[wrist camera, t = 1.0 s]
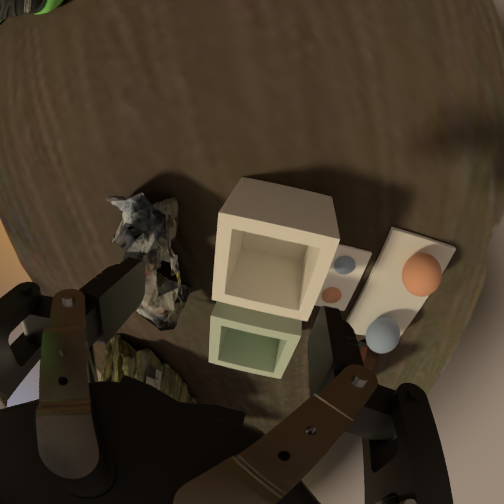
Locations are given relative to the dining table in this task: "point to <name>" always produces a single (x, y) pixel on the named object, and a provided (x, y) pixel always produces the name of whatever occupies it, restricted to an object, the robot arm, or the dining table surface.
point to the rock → (142, 369)
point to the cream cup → (274, 248)
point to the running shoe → (26, 7)
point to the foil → (153, 255)
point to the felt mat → (395, 281)
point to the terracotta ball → (421, 274)
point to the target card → (343, 276)
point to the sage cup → (252, 339)
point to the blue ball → (382, 335)
